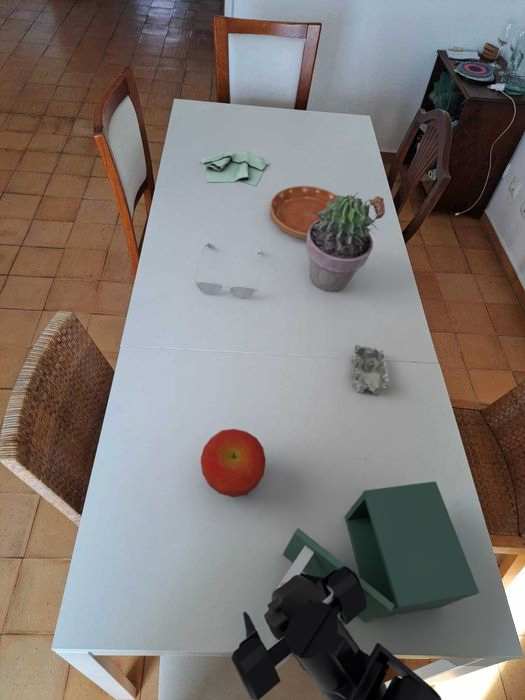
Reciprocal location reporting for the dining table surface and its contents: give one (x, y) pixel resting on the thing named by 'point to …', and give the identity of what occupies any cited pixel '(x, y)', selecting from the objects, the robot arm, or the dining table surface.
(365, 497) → the box
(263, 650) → the robot arm
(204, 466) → the apple
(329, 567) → the cooler door
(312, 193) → the saucer
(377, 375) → the egg carton
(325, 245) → the potted plant
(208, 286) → the eyeglasses
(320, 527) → the dining table surface
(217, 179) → the cloth
